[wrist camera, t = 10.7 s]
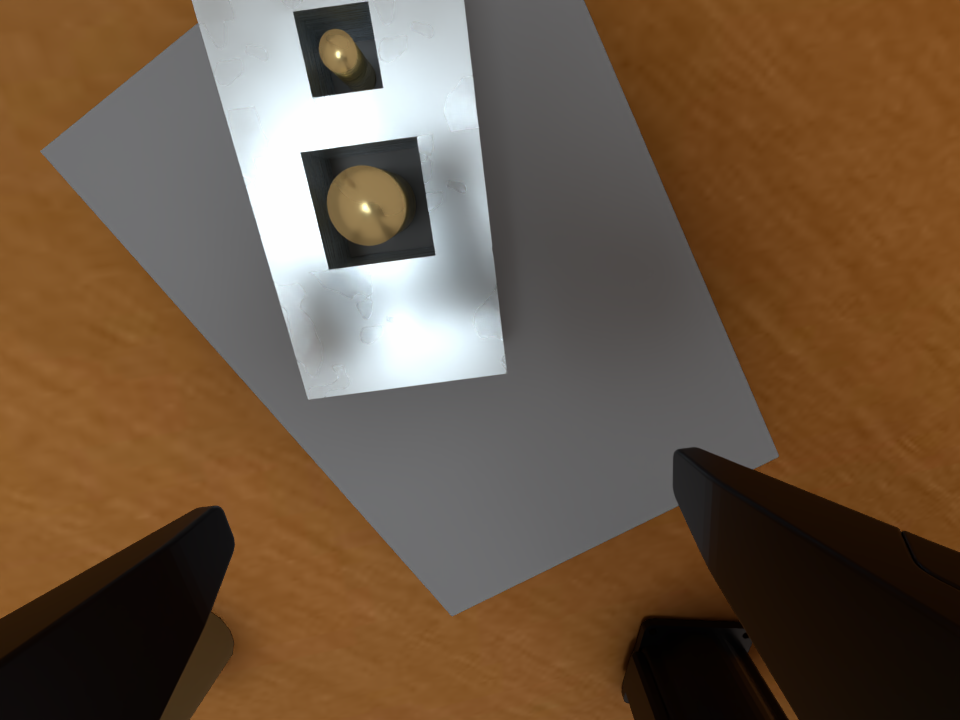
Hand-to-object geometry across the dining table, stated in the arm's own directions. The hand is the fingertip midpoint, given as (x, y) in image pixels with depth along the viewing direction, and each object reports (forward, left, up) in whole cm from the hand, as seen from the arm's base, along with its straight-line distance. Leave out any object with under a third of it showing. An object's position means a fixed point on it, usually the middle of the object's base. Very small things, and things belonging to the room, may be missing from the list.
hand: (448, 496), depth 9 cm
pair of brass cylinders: (+3, -7, -10) cm, 12 cm away
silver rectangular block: (+3, -5, -10) cm, 12 cm away
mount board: (0, -1, -11) cm, 11 cm away
